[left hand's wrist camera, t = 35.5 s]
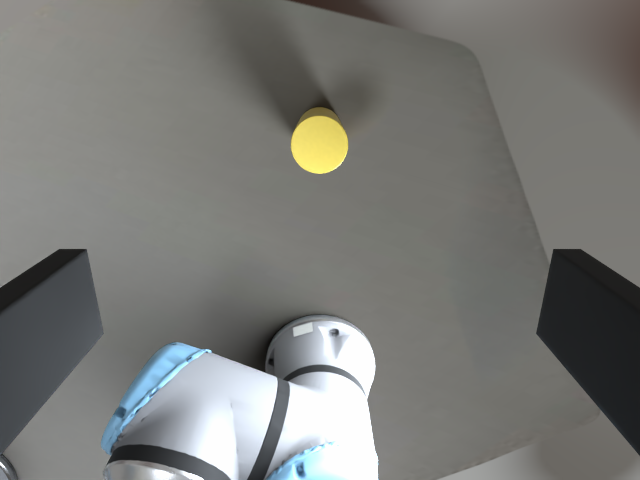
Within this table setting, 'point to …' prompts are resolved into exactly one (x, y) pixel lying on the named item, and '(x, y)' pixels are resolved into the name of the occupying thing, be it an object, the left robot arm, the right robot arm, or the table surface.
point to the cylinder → (319, 141)
